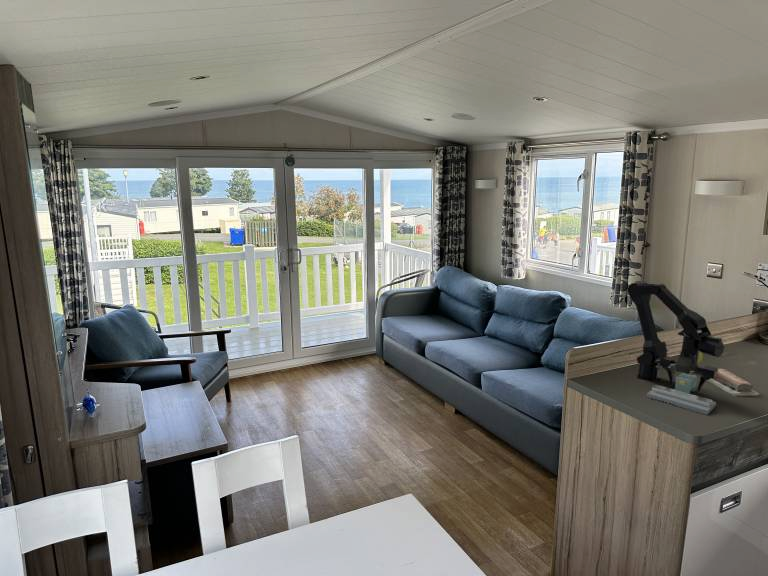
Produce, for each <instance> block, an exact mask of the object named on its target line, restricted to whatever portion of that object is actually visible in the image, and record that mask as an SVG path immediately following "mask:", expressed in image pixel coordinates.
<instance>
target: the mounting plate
mask: <svg viewBox="0 0 768 576" xmlns="http://www.w3.org/2000/svg"><path fill="white" fill-rule="evenodd" d="M646 397H647V398H648V397H649V399H652V398H653V400H655V399H657V400H656V401H658V400H661V401H660V402H662V401H664V402H663V403H665V402H667V403H666V404H669V403H671V404H670V405H672V404H674V405H673V406H675V405H676V406H675V407H679V408H683V409H685V410H686V409H687V410H690V411H693V412H696V413H700V414H703V415H709V413H711V412H712V411H713V409H715V408H716V405H717V401H714V400H713V401H712V405H711V406H710V407H706V406H702V405H699V404H695V403H692V402H688V401H685V400H681V399H678V398H674V397H671V396H667V395H664V394H660V393H657V392H653V391H652V389H650V391H648V392H646Z"/></svg>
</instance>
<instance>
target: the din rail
mask: <svg viewBox="0 0 768 576" xmlns="http://www.w3.org/2000/svg"><path fill="white" fill-rule="evenodd" d="M651 390H652V391H653V392H657V393H660V394H664V395H667V396H671V397H674V398H678V399H681V400H685V401H688V402H692V403H695V404H699V405H702V406H706V407H710V406H711V405H712V401H713V402H714V400H713V399H710V398H706V397H702V396H698V395H696V394H691V393H690V394H688V393H685V392H681V391H678V390H675V388H669V387H666V386H662V385H660V384H659V385H658V384H655V385H653V386H652V387H651Z"/></svg>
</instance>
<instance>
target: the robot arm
mask: <svg viewBox="0 0 768 576" xmlns="http://www.w3.org/2000/svg"><path fill="white" fill-rule="evenodd" d="M626 291H627V294H628V296H629V298H630V300H631V302H632V303H633V304H634V305H635V307H636V311H637V315H638V319H639V322H640V327H641V331H642V335H643V340H644V341H643V346H642V354H640V355H639V356H637V357H636V361H637V364H639V366H638V373H637V375H636V378H638V379H639V378H640V379H643V380H647V381H650V382H655V381H656V380H657V379H659V377H660V376H659V375H660V367H662V369H664V370H665V371H666V372H667V375H668V379H669V382H670V385H671V386H673V385H674V381H675V372H679V373H685V374H690V373H691V372H690V371H695V372H697V373H701V376H699V382H698V387H697V392H698V393H700V391H701V390H702V388H703V386H704V384H705V383H706V382H707V381H708V380H710V379H714V378H715V377H716V376H717V375H718V369H719V368H717V367H715V366H710V365H705V366H704V367H702V366H699V364H698V357H699V353H700V352H701V353H702V354H705V355H708V356H710V357H711V356H712V357H714V358H720V357H721V356H722V355H723V353H724V351H725V345H724V343H723V342H722V341H723V339H722V338H720V337H715V336H712V333H711V331H710V329H709V327H708V326H707V320H706V319H705V318H704V316H702V315H701V314H699V313H698V312H696V311H694V310H692V309H690V308H689V307H687V305H685V304H684V303H683V302H682V301H681V300H680V299H679V298H678V297H677V296H675V294H673V293H672V292H671V291H670V290H669V289H668V288H667V285H665V284H664V283H647V282H646V281H638V282H632V283H630V284H629V285H628V287H627V290H626ZM652 295H654V296H656V298H657V299H659V300H660V301H661V302H662V304H664V305H665V307H667V309H669V311H670V312H672V313H673V314H674V315H675V316H676V318H677V321H678V323H679V325H680V326H681V328H682V330H681V331H679V332H678V333H677V335H678V336H682V345H681V351H680V353H679V356H678V358H677V359H676V357H672V356H668V352H669V350H668V349H667V344H666V341H661V340H660V339H659V337H658V332H657V329H656V325H655V321H654V317H653V313H652V309H651V305H650V301H651V299H652V298H651V297H652ZM659 366H660V367H659Z"/></svg>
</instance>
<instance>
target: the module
mask: <svg viewBox="0 0 768 576" xmlns="http://www.w3.org/2000/svg"><path fill="white" fill-rule="evenodd" d="M697 378H698V376H697V375H694V374H690V373H689V374H685V373H683V372H680V373H679V375H677V376H676V377H675V385H674V390H678V391H681V392H685V393H688V394H691V392H693V391H694V392H695V391H696V386H697Z"/></svg>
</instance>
